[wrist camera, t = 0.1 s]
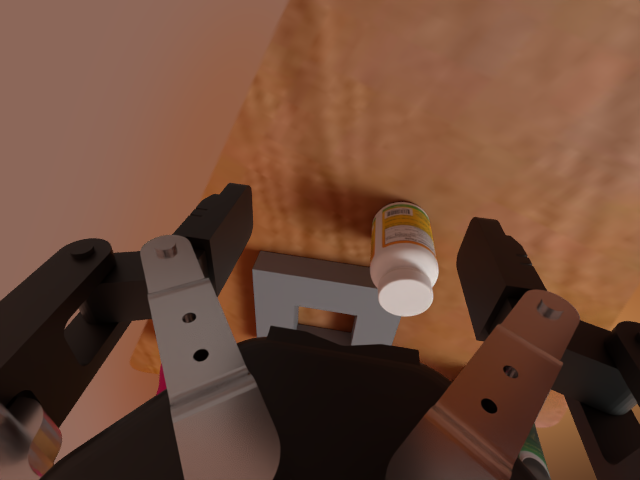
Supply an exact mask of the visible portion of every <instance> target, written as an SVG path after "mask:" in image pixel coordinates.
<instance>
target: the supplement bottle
mask: <svg viewBox="0 0 640 480" xmlns="http://www.w3.org/2000/svg"><path fill="white" fill-rule="evenodd" d="M438 272H439V271H438V263H437V257H436V252H435V247H434V242H433V236H432V231H431V225H430V221H429V218H428V216H427V214H426V213H425V212H424V211H423V209H421V208H420V207H419V206H417V205H415V204H412V203H407V202H396V203H392V204H389V205H387V206H385V207H383V208H382V209H381V210H380V211H379V212H378V213H377V214H376V215H375V217H374V220H373V223H372V238H371V258H370V275H371V279H372V281H373V283H374V285H375V286H376V287H377V288H378V300H379V303H380V305H381V306H382V308H383V309H385V310H386V311H387V312H389V313H391V314H394V315H398V316H413V315H417V314H420V313H422V312H424V311H425V310H427V309H428V308H429V307H430V305H431V304H432V301H433V291H432V287H433V285H434V284H435V282H436V280H437V278H438Z"/></svg>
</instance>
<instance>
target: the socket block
mask: <svg viewBox="0 0 640 480" xmlns="http://www.w3.org/2000/svg"><path fill="white" fill-rule="evenodd" d="M252 272H253V287H254V301H255V315H256V329H257V338H258V337H267V335H268V332H269V329H270V326H277V327H283V328H289V329H295V330H301V331H306V332H309V333H311V334H314V335H316V336H319V337H321V338H324V339H326V340H329V341H331V342H334V343H336V344H339V345H343V346H351V345H370V344H385V345H392V342H393V339H394V336H395V333H396V330H397V327H398V324H399V321H400V318H401V316H398V315H394V314H391V313H389V312H387V311H386V310H385V309H383V308H382V306H381V305H380V303H379V300H378V288H377V287H376V286H375V285H374V283H373V281H372V279H371V275H370V267H364V266H357V265H350V264H344V263H337V262H331V261H324V260H318V259H311V258H304V257H298V256H291V255H285V254H278V253H272V252H265V251H260V253H259V255H258V258H257V260H256V262H255V264H254V266H253V269H252ZM299 306H301V307H308V308H314V309H320V310H326V311H332V312H338V313H344V314H351V315H355V318H354V323H353V328H352V333H349V332H343V331H337V330H331V329H325V328H319V327H313V326H307V325H301V324H298V307H299Z"/></svg>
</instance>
